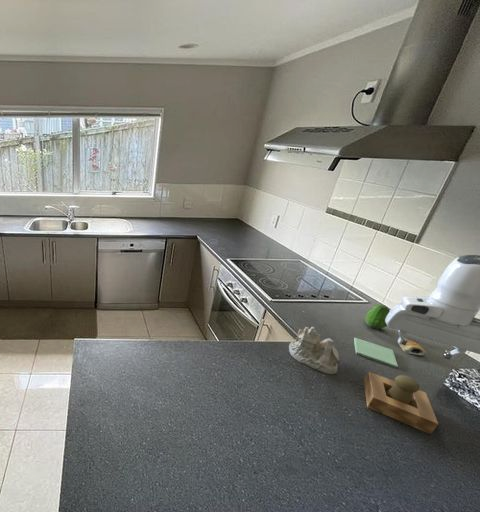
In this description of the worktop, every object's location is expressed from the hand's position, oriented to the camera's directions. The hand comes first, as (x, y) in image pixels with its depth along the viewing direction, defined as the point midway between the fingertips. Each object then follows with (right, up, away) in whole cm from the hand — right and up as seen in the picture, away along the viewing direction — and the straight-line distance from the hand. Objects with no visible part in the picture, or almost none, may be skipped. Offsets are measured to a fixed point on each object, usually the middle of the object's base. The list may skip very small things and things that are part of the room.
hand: (423, 350), depth 83 cm
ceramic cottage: (-12, -12, +28) cm, 32 cm away
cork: (0, -21, +8) cm, 22 cm away
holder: (0, -20, +8) cm, 22 cm away
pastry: (+34, -11, +34) cm, 49 cm away
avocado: (+33, -6, +48) cm, 58 cm away
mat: (+16, -12, +31) cm, 37 cm away
